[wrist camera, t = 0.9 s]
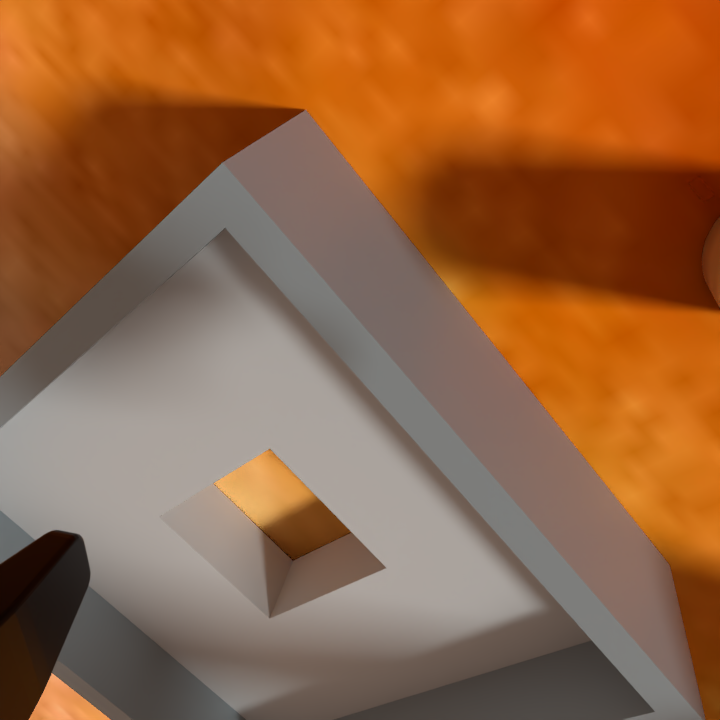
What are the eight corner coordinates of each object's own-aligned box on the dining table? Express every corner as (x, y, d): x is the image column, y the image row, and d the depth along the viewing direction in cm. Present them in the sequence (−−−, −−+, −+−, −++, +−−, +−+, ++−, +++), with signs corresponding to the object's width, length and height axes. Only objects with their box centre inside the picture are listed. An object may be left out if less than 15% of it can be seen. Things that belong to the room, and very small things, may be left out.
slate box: (669, 565, 24) (706, 724, 19) (288, 696, 33) (245, 825, 28) (305, 109, 19) (222, 162, 14) (-25, 418, 28) (-146, 517, 23)
